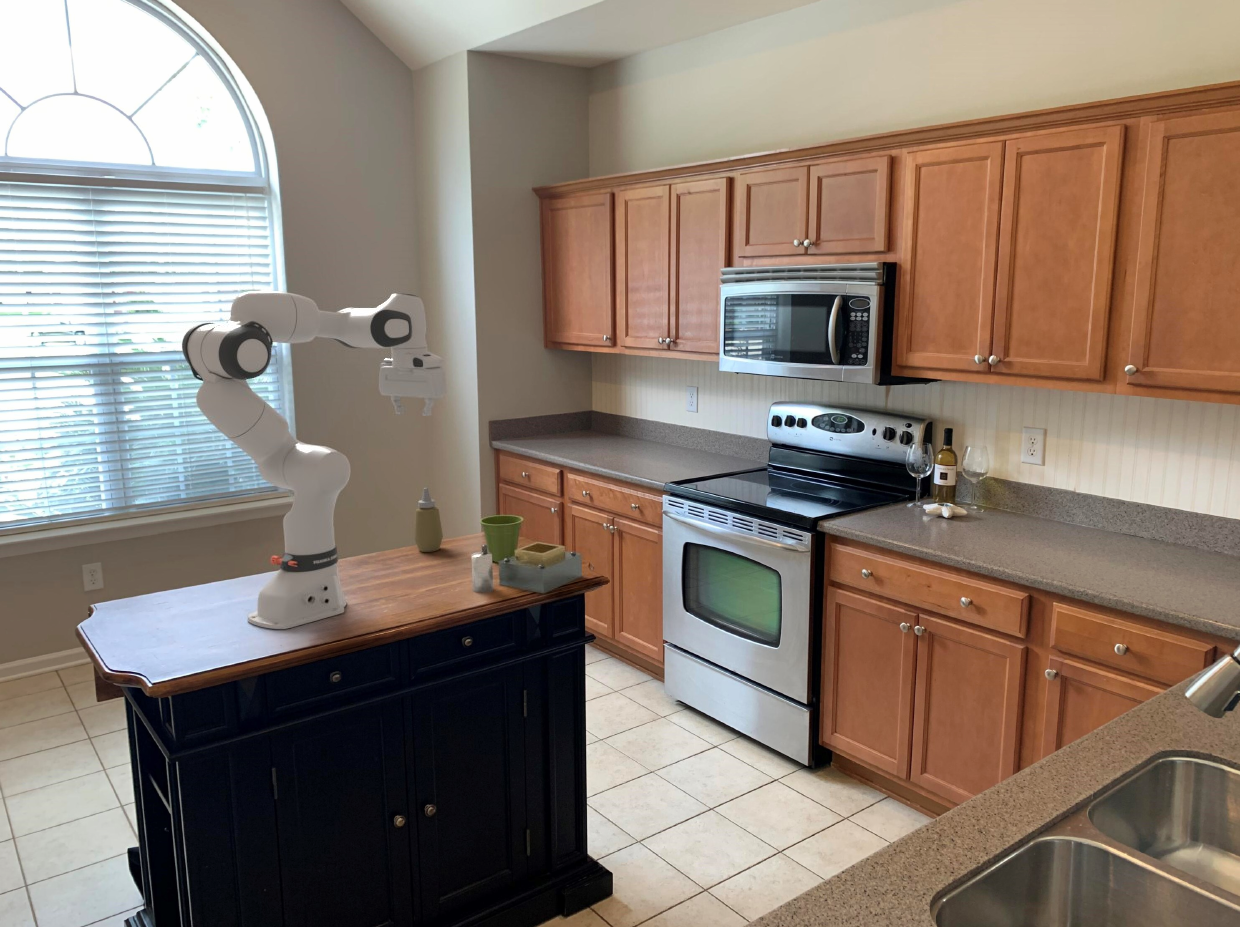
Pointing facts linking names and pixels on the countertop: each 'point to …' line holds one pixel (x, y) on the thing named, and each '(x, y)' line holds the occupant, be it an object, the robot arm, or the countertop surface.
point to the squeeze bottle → (427, 524)
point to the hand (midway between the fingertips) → (413, 414)
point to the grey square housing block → (540, 567)
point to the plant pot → (501, 535)
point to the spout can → (482, 571)
